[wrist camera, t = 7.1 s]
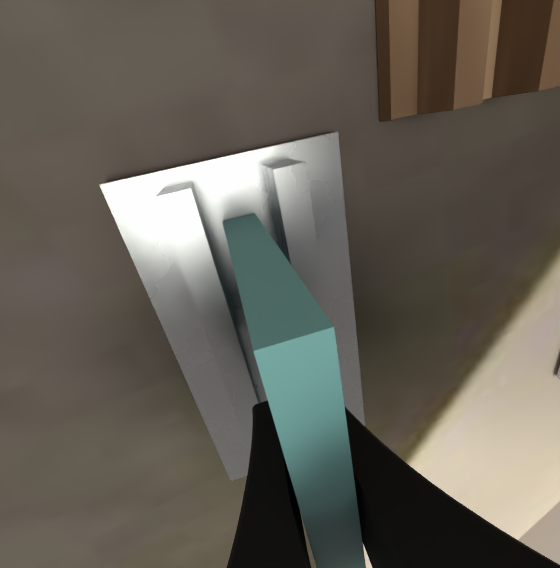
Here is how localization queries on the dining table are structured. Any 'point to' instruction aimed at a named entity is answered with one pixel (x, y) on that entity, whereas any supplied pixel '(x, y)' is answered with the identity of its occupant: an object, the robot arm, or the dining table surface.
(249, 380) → the metal slot stand
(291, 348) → the teal board
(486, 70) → the walnut rack
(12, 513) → the dining table surface
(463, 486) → the dining table surface
